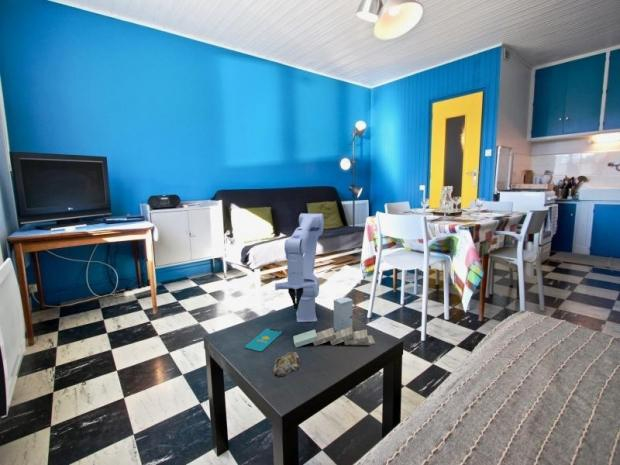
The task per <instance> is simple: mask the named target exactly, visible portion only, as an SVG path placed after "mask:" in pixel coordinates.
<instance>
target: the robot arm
mask: <svg viewBox="0 0 620 465" xmlns="http://www.w3.org/2000/svg"><path fill="white" fill-rule="evenodd" d="M324 224H325V217H324V214H323V212H322V213H321V212H320V213H302V212H300V214H299V217H298V225H299V226H298V227H296V229H294V232H293V233H292V234H291V236H290V237H288V238H287V239H286V240H285V242H284V253H285V260H286V261H287V264H286V265H287V266H286V267H287V281H285V282H278V283H277V282H276V283H275V284H274V290H275V291H279V290H287V291H288V295H289V296H290V299H291V301H292V304H293V310H297V311H296V313H295V314H296V322H297V323H306V322H307V323H308V322H309V323H311V322H312V323H313V322H318V318H317V314H316V298H318V296H319V292H320V279H319V278H318V277H317V276H316V275H315V274H314V269H315V262H316V254H317V246H318V240H319V237H320V236H321V235H323V232H324Z"/></svg>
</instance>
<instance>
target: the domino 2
mask: <svg viewBox="0 0 620 465" xmlns="http://www.w3.org/2000/svg"><path fill="white" fill-rule="evenodd" d="M335 333H336V331H334V326H333V327H330V328H327V329H324V330H321V331H318V332H316V335H317V338H318V341H315V342H312V343H313V346H314V347H317V346H319V345H322V344H325V343H328V342H330V340H333V339H336V335H335Z"/></svg>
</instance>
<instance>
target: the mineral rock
mask: <svg viewBox="0 0 620 465" xmlns="http://www.w3.org/2000/svg"><path fill="white" fill-rule="evenodd" d="M300 363H301V362H300V357H299V355H298V352H295V351H290V352H286V353H284V354H283V355H282V356H281V357H280V356H279V357H277V358H276V359H275V361H274V364H273V368H272V371H273V373H274V375H275V376H277V377H278V378H279V377H285V376H288V374H290V373H291V372H292V371H297V370H298V369H299V367H300Z"/></svg>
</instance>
